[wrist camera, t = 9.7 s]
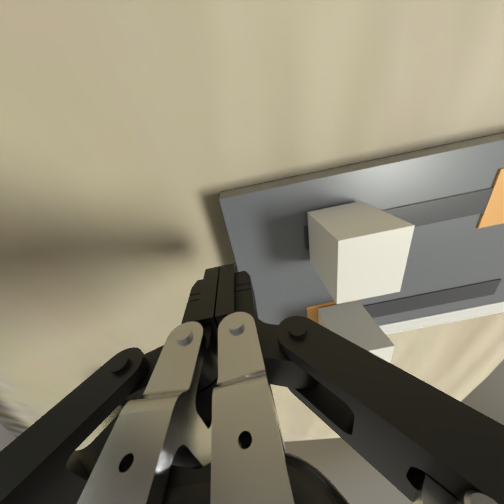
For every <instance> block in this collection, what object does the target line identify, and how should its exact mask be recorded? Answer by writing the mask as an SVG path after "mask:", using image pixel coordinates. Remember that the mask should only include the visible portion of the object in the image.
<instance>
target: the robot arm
mask: <svg viewBox="0 0 504 504" xmlns="http://www.w3.org/2000/svg"><path fill="white" fill-rule="evenodd" d="M270 384H274V385H279V386H285V387H288V388H289V390H290V391H291V392H292V393H293V394H294V395H295V396H296V397H297V398H298V399H299V400H301V401H302V402H303V403H304V404H305V405H306V406H307V407H308V408H309V409H310V410H312V411H313V412H314V413H315V414H316V415H317V416H318V417H319V418H320V419H321V420H323V421H324V422H325V423H326V424H327V425H328V426H329V427H330V428H331V429H332V430H334V431H335V432H336V433H337V434H338V435H339V436H340V437H341V438H342V439H343V440H345V441H346V442H347V443H348V444H349V445H350V446H351V447H352V448H353V449H354V450H356V451H357V452H358V453H359V454H360V455H361V456H362V457H363V458H364V459H366V460H367V461H368V462H369V463H370V464H371V465H372V466H373V467H374V468H375V469H376V470H378V471H379V472H380V473H381V474H382V475H383V476H384V477H385V478H386V479H388V480H389V481H390V482H391V483H392V484H393V485H394V486H395V487H396V488H397V489H398V490H400V491H401V492H402V493H403V494H404V495H405V496H406V497H407V498H408V499H409V500H411V501H412V502H413V503H412V504H504V425H502V424H500V423H498V422H496V421H495V420H493V419H491V418H489V417H487V416H485V415H484V414H482V413H480V412H478V411H476V410H475V409H473V408H471V407H469V406H467V405H465V404H464V403H462V402H460V401H458V400H456V399H455V398H453V397H451V396H449V395H447V394H445V393H444V392H442V391H440V390H438V389H436V388H435V387H433V386H431V385H429V384H427V383H425V382H424V381H422V380H420V379H418V378H416V377H414V376H413V375H411V374H409V373H407V372H405V371H404V370H402V369H400V368H398V367H396V366H394V365H393V364H391V363H389V362H387V361H385V360H384V359H382V358H380V357H378V356H376V355H374V354H373V353H371V352H369V351H367V350H365V349H363V348H362V347H360V346H358V345H356V344H354V343H353V342H351V341H349V340H347V339H345V338H343V337H342V336H340V335H338V334H336V333H334V332H333V331H331V330H329V329H327V328H325V327H323V326H322V325H320V324H318V323H316V322H314V321H312V320H311V319H309V318H307V317H303V316H291V317H288V318H286V319H284V320H283V321H281V323H280V324H279V325H275V324H268V323H265V322H262V321H261V320H259V319H258V313H257V307H256V300H255V295H254V290H253V286H252V282H251V278H250V275H249V274H248V273H247V272H246V271H241V272H237V271H236V267H235V264H234V263H233V264H229V265H224V266H219V267H214V268H209V269H206V270H205V274H204V279H202V280H198V281H197V282H196V283H195V284H194V286H193V287H192V289H191V292H190V296H189V299H188V303H187V306H186V310H185V313H184V317H183V320H182V323H181V325H179V326H178V327H176V328H175V329H174V330H173V331H172V332H171V333H170V334H169V336H168V338H167V340H166V342H165V344H164V345H163V346H161V347H159V348H157V349H155V350H153V351H151V352H149V353H146V354H143V352H142V351H141V350H140V349H139V348H129V349H126V350H123V351H121V352H119V353H118V354H116V355H115V356H114V357H112V358H111V359H110V360H109V361H108V362H106V363H105V364H104V365H103V366H102V367H100V368H99V369H98V370H97V371H96V372H95V373H93V374H92V375H91V376H90V377H89V378H87V379H86V380H85V381H84V382H83V383H81V384H80V385H79V386H78V387H77V388H76V389H74V390H73V391H72V392H71V393H70V394H68V395H67V396H66V397H65V398H64V399H62V400H61V401H60V402H59V403H58V404H57V405H55V406H54V407H53V408H52V409H51V410H49V411H48V412H47V413H46V414H45V415H43V416H42V417H41V418H40V419H39V420H37V421H36V422H35V423H34V424H33V425H32V426H30V427H29V428H28V429H27V430H26V431H24V432H23V433H22V434H21V435H20V436H18V437H17V438H16V439H15V440H14V441H13V442H11V443H10V444H9V445H8V446H7V447H5V448H4V449H3V450H2V451H1V452H0V504H349V503H348V502H347V500H346V499H345V498H344V497H343V496H342V495H341V493H340V492H339V491H338V490H337V489H336V487H335V486H334V485H333V484H332V483H331V482H330V481H329V480H328V479H327V478H326V477H325V476H324V475H323V474H322V473H321V472H320V471H319V470H318V469H317V468H315V467H314V466H312V465H311V464H309V463H308V462H307V461H305V460H303V459H301V458H300V457H298V456H295V455H292V454H290V453H286V450H285V445H284V441H283V437H282V432H281V428H280V424H279V420H278V416H277V412H276V407H275V403H274V398H273V394H272V390H271V385H270ZM118 405H119V406H120V407H121V408H122V411H121V412H120V413H119V414H118V415H117V416H116V417H115V419H114V420H113V421H112V422H111V423H110V424H109V425H108V426H107V427H106V428H105V429H104V430H103V431H102V432H101V433H100V434H99V435H98V436H97V437H96V439H95V440H94V441H93V442H92V443H91V444H90V445H88V446H87V447H86V448H84V449H82V450H78V451H75V449H76V448H77V447H78V446H79V445H80V444H81V443H82V442H83V441H84V440H85V439H86V438H87V437H88V436H89V435H90V434H91V433H92V432H93V431H94V430H95V429H96V428H97V427H98V426H99V425H100V424H101V423H102V422H103V421H104V420H105V419H106V418H107V417H108V416H109V415H110V414H111V413H112V411H113V410H114V409H115V408H116V407H117V406H118Z"/></svg>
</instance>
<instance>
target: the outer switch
mask: <svg viewBox="0 0 504 504" xmlns="http://www.w3.org/2000/svg"><path fill="white" fill-rule="evenodd" d="M318 323H319V324H320V325H322V326H323V327H325V328H327V329H329V330H331V331H333V332H334V333H336V334H338V335H340V336H342V337H343V338H345V339H347V340H349V341H351V342H353V343H354V344H356V345H358V346H360V347H362V348H363V349H365V350H367V351H369V352H371V353H373V354H374V355H376V356H378V357H380V358H382V359H384V360H385V361H387V362H389V363H390V362H391V358H392V354H393V350H394V344H393V343H392V342H391V341H390V339H389V338H388V337H387V336H386V334H385V333H384V332H383V331H382V329H381V328H380V327H379V326H378V324H377V323H376V322H375V321H374V319H373V318H372V317H371V316H370V314H369V313H368V312H367V311H366V309H365V308H364V307H363V306H362V304H361V303H360V302H359V300H358V301H353V302H348V303H343V304H338V305H333V306H328V307H323V308H318Z"/></svg>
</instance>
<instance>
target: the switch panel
mask: <svg viewBox="0 0 504 504" xmlns="http://www.w3.org/2000/svg"><path fill="white" fill-rule="evenodd" d="M219 201H220V205H221V208H222V212H223V216H224V220H225V223H226V227H227V231H228V235H229V238H230V242H231V246H232V250H233V253H234V257H235V261H236V265H237V268H238V272H241V271H246V272H247V273H248V274H249V275H250V278H251V282H252V286H253V290H254V295H255V300H256V307H257V313H258V319H259V320H261V321H262V322H265V323H268V324H275V325H279V324H280V323H281V321H283V320H284V319H286V318H288V317H291V316H303V317H307V318H309V319H311V320H312V321H314V322H316V323H318V308H323V307H328V306H333V305H338V304H336V302H335V301H334V299H333V298H332V296H331V295H330V293H329V291H328V290H327V288H326V287H325V285H324V284H323V282H322V281H321V279H320V277H319V276H318V274H317V273H316V271H315V270H314V268H313V266H312V265H311V263H310V252H309V233H308V215H307V212H310V211H315V210H320V209H324V208H329V207H334V206H339V205H344V204H349V203H353V202H358V201H362V202H364V203H367V204H369V205H371V206H373V207H375V208H378V209H380V210H382V211H384V212H387V213H389V214H391V215H393V216H395V217H398V218H400V219H402V220H404V221H407V222H409V223H411V224H413V225H415V227H414V231H413V236H412V240H411V245H410V249H409V254H408V258H407V263H406V267H405V272H404V276H403V280H402V285H401V289H400V292H396V293H391V294H386V295H381V296H376V297H371V298H366V299H361V300H359V302H360V303H361V304H362V306H363V307H364V308H365V309H366V311H367V312H368V313H369V314H370V316H371V317H372V318H373V319H374V321H375V322H376V323H377V324H378V326H379V327H380V328H381V329H382V331H383V332H384V333H385V334H386V335H388V334H393V333H398V332H403V331H408V330H414V329H419V328H424V327H429V326H434V325H439V324H445V323H450V322H455V321H460V320H465V319H470V318H476V317H481V316H486V315H491V314H496V313H501V312H504V133H499V134H494V135H490V136H485V137H480V138H475V139H471V140H466V141H461V142H456V143H452V144H447V145H442V146H437V147H433V148H428V149H423V150H418V151H414V152H409V153H404V154H399V155H395V156H390V157H385V158H380V159H376V160H371V161H366V162H361V163H357V164H352V165H347V166H342V167H338V168H333V169H328V170H323V171H319V172H314V173H309V174H304V175H300V176H295V177H290V178H285V179H281V180H276V181H271V182H266V183H262V184H257V185H252V186H247V187H242V188H238V189H233V190H228V191H223V192H221V194H220V198H219ZM355 301H358V300H355ZM350 302H353V301H350ZM345 303H348V302H345ZM340 304H343V303H340ZM318 324H319V323H318Z"/></svg>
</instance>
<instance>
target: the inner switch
mask: <svg viewBox="0 0 504 504" xmlns="http://www.w3.org/2000/svg"><path fill="white" fill-rule="evenodd" d="M307 215H308V233H309V252H310V263H311V265H312V266H313V268H314V270H315V271H316V273H317V274H318V276H319V277H320V279H321V281H322V282H323V284H324V285H325V287H326V288H327V290H328V291H329V293H330V295H331V296H332V298H333V299H334V301H335V302H336V304H340V303H345V302H350V301H355V300H361V299H366V298H371V297H376V296H381V295H386V294H391V293H396V292H400V289H401V285H402V280H403V276H404V272H405V267H406V263H407V258H408V254H409V249H410V245H411V240H412V236H413V231H414V227H415V225H413V224H411V223H409V222H407V221H404V220H402V219H400V218H398V217H395V216H393V215H391V214H389V213H387V212H384V211H382V210H380V209H378V208H375V207H373V206H371V205H369V204H367V203H364V202H362V201H358V202H353V203H349V204H344V205H339V206H334V207H329V208H324V209H320V210H315V211H310V212H307Z"/></svg>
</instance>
